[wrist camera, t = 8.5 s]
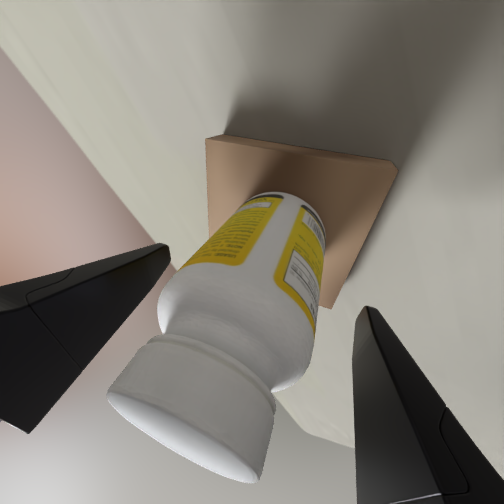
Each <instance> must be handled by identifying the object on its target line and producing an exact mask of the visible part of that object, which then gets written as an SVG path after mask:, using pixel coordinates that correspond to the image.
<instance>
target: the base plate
mask: <svg viewBox="0 0 504 504" xmlns="http://www.w3.org/2000/svg"><path fill="white" fill-rule="evenodd" d="M205 145H206V170H207V195H208V220H209V239H210V238H211V237H212V236H213V234H214V233H215V232H216V231H217V230H218V229H219V228H220V227H221V226H222V225H223V224H224V223H225V222H226V221H227V220H228V219H229V218H230V217H231V216H232V215H233V214H234V212H235V211H236V210H237V209H238V208H239V207H240V206H241V205H242V204H244V203H245V202H246V201H247V200H249V199H250V198H252V197H254V196H256V195H258V194H262V193H266V192H283V193H287V194H291V195H294V196H296V197H298V198H300V199H302V200H303V201H305V202H306V203H308V204H309V205H310V206H311V207H312V208H313V209H314V210H315V211H316V212H317V214H318V215H319V217H320V219H321V221H322V223H323V226H324V229H325V234H326V248H325V256H324V264H323V272H322V280H321V289H320V296H319V306H322V307H325V308H329V309H332V307H333V305H334V303H335V301H336V299H337V297H338V295H339V292H340V290H341V288H342V286H343V284H344V282H345V280H346V278H347V276H348V274H349V272H350V270H351V268H352V266H353V264H354V261H355V259H356V257H357V255H358V253H359V251H360V249H361V247H362V245H363V243H364V241H365V239H366V237H367V235H368V232H369V230H370V228H371V226H372V224H373V222H374V220H375V218H376V216H377V214H378V212H379V210H380V208H381V206H382V204H383V201H384V199H385V197H386V195H387V193H388V191H389V189H390V187H391V185H392V183H393V181H394V179H395V177H396V175H397V172H398V170H397V168H396V167H395V166H394V165H393V164H392V162H391V161H388V160H382V159H375V158H369V157H363V156H356V155H350V154H344V153H337V152H331V151H325V150H318V149H312V148H306V147H299V146H293V145H287V144H280V143H274V142H268V141H261V140H255V139H249V138H242V137H236V136H230V135H223V134H222V135H218V136H214V137H210V138H206V139H205Z"/></svg>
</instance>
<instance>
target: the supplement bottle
mask: <svg viewBox="0 0 504 504" xmlns="http://www.w3.org/2000/svg"><path fill="white" fill-rule="evenodd" d="M325 248H326V234H325V229H324V226H323V223H322V221H321V219H320V217H319V215H318V214H317V212H316V211H315V210H314V209H313V208H312V207H311V206H310V205H309V204H308V203H306V202H305V201H303V200H302V199H300V198H298V197H296V196H294V195H291V194H287V193H283V192H266V193H262V194H258V195H256V196H254V197H252V198H250V199H249V200H247V201H246V202H245V203H244V204H242V205H241V206H240V207H239V208H238V209H237V210H236V211H235V212H234V214H233V215H232V216H231V217H230V218H229V219H228V220H227V221H226V222H225V223H224V224H223V225H222V226H221V227H220V228H219V229H218V230H217V231H216V232H215V233H214V234H213V236H212V237H211V238H210V239H209V240H208V241H207V242H206V243H205V244H204V245H203V246H202V247H201V248H200V249H199V250H198V251H197V252H196V253H195V254H194V255H193V256H192V257H191V258H190V259H189V260H188V261H187V262H186V263H185V264H184V265H183V266H182V267H181V268H180V269H179V270H178V271H177V272H176V273H175V274H174V276H173V277H172V278H171V279H170V281H169V282H168V283H167V284H166V285H165V287H164V288H163V290H162V292H161V294H160V297H159V301H158V320H159V324H160V328H161V331H162V333H163V335H158V336H155V337H153V338H151V339H150V340H149V341H148V342H147V344H146V345H144V346H143V347H141V348H140V349H139V350H138V351H137V353H136V354H135V356H134V357H133V358H132V360H131V361H130V362H129V364H128V365H127V366H126V367H125V369H124V370H123V371H122V373H121V374H120V375H119V376H118V378H117V379H116V380H115V381H114V383H113V384H112V385H111V386H110V388H109V389H108V392H107V400H108V401H109V403H110V404H111V405H112V406H113V407H114V408H115V409H116V410H117V411H118V412H119V413H120V414H121V415H122V416H123V417H124V418H125V419H127V420H128V421H129V422H130V423H132V424H133V425H134V426H136V427H137V428H139V429H140V430H142V431H143V432H144V433H146V434H147V435H149V436H150V437H152V438H154V439H155V440H156V441H158V442H160V443H161V444H163V445H164V446H166V447H168V448H169V449H171V450H173V451H174V452H176V453H178V454H180V455H181V456H184V457H185V458H187V459H189V460H191V461H193V462H195V463H197V464H198V465H200V466H202V467H204V468H207V469H208V470H211V471H213V472H215V473H217V474H220V475H222V476H225V477H228V478H231V479H234V480H237V481H241V482H245V483H255V482H257V481H259V479H260V476H261V474H262V470H263V466H264V462H265V457H266V453H267V449H268V445H269V441H270V437H271V433H272V429H273V424H274V416H273V415H274V414H275V411H276V404H275V399H274V397H273V395H272V393H271V392H277V391H281V390H283V389H286V388H288V387H290V386H292V385H293V384H294V383H296V382H297V381H298V380H299V379H300V378H301V377H302V376H303V374H304V373H305V371H306V370H307V368H308V366H309V364H310V360H311V356H312V351H313V346H314V339H315V331H316V321H317V313H318V306H319V296H320V289H321V280H322V272H323V264H324V256H325Z"/></svg>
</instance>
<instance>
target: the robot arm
mask: <svg viewBox="0 0 504 504" xmlns="http://www.w3.org/2000/svg"><path fill="white" fill-rule="evenodd" d="M170 261H171V256H170V251H169V247H168V245H166V244H163V243H157V244H154V245H151V246H147V247H143V248H140V249H137V250H133V251H130V252H126V253H123V254H119V255H116V256H112V257H109V258H105V259H102V260H98V261H95V262H91V263H88V264H85V265H81V266H78V267H76V268H70V269H67V270H64V271H60V272H56V273H53V274H49V275H45V276H41V277H37V278H33V279H29V280H25V281H20V282H16V283H12V284H8V285H4V286H0V422H1V421H4V422H6V423H8V424H10V425H12V426H14V427H16V428H17V429H19V430H21V431H23V432H25V433H27V434H29V433H30V432H31V431H32V430H33V429H34V428H35V427H36V426H37V425H38V424H39V422H40V421H41V420H42V419H43V418H44V416H45V415H46V414H47V413H48V412H49V411H50V409H51V408H52V407H53V406H54V405H55V403H56V402H57V401H58V400H59V399H60V397H61V396H62V395H63V394H64V393H65V392H66V390H67V389H68V388H69V387H70V385H71V384H72V383H73V382H74V381H75V380H76V378H77V377H78V376H79V375H80V374H81V372H82V371H83V370H84V369H85V368H86V366H87V365H88V364H89V363H90V362H91V360H92V359H93V358H94V357H95V356H96V355H97V353H98V352H99V351H100V349H101V348H102V347H103V346H104V345H105V344H106V343H107V341H108V340H109V339H110V338H111V337H112V335H113V334H114V333H115V332H116V331H117V330H118V328H119V327H120V326H121V325H122V324H123V322H124V321H125V320H126V319H127V318H128V317H129V315H130V314H131V313H132V312H133V311H134V309H135V308H136V307H137V306H138V305H139V303H140V302H141V301H142V300H143V299H144V298H145V296H146V295H147V294H148V293H149V292H150V290H151V289H152V288H153V287H154V285H155V284H156V282H157V281H158V279H159V278H160V277H161V275H162V274H163V272H164V271H165V269H166V268H167V266H168V265H169V263H170ZM352 372H353V401H354V430H355V458H356V487H357V504H504V480H503V479H502V478H501V476H500V475H499V474H498V473H497V471H496V470H495V469H494V468H493V466H492V465H491V464H490V462H489V461H488V460H487V459H486V457H485V456H484V455H483V454H482V452H481V451H480V450H479V449H478V447H477V446H476V445H475V443H474V442H473V441H472V439H471V438H470V437H469V435H468V434H467V433H466V431H465V430H464V429H463V427H462V426H461V425H460V423H459V422H458V420H457V419H456V418H455V416H454V415H453V413H452V412H451V411H450V409H449V408H448V407H446V404H445V403H444V401H443V400H442V398H441V397H440V396H439V394H438V393H437V391H436V390H435V389H434V387H433V386H432V384H431V383H430V382H429V380H428V379H427V377H426V376H425V375H424V373H423V372H422V371H421V369H420V368H419V366H418V365H417V364H416V362H415V361H414V359H413V358H412V357H411V355H410V354H409V352H408V351H407V350H406V348H405V347H404V346H403V344H402V343H401V341H400V340H399V339H398V337H397V336H396V334H395V333H394V332H393V330H392V329H391V327H390V326H389V325H388V323H387V322H386V320H385V319H384V318H383V316H382V315H381V314H380V312H379V311H378V310H377V309H376V308H373V307H370V306H364V307H363V309H362V311H361V312H360V314H359V315H358V317H357V319H356V323H355V333H354V344H353V355H352Z"/></svg>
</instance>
